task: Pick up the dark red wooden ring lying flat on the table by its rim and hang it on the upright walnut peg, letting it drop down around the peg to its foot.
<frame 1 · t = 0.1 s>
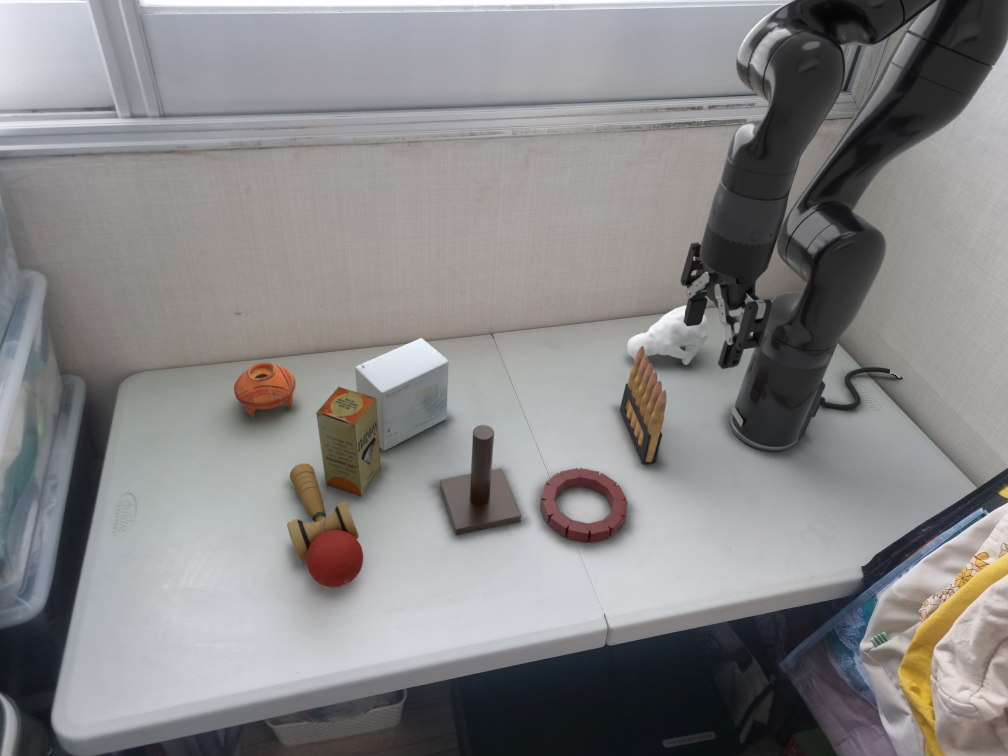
hand: (708, 344, 92), 17 cm above the table, tool pointing down, fingers open, 8 cm apart
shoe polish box: (353, 477, 96), on the table
cosmetics box: (403, 424, 103), on the table
ammunition clip: (636, 436, 104), on the table
pot: (269, 405, 105), on the table
coat peg: (479, 502, 93), on the table
ring: (582, 508, 94), on the table
white lumpy piece: (660, 357, 118), on the table
kendama: (321, 535, 88), on the table
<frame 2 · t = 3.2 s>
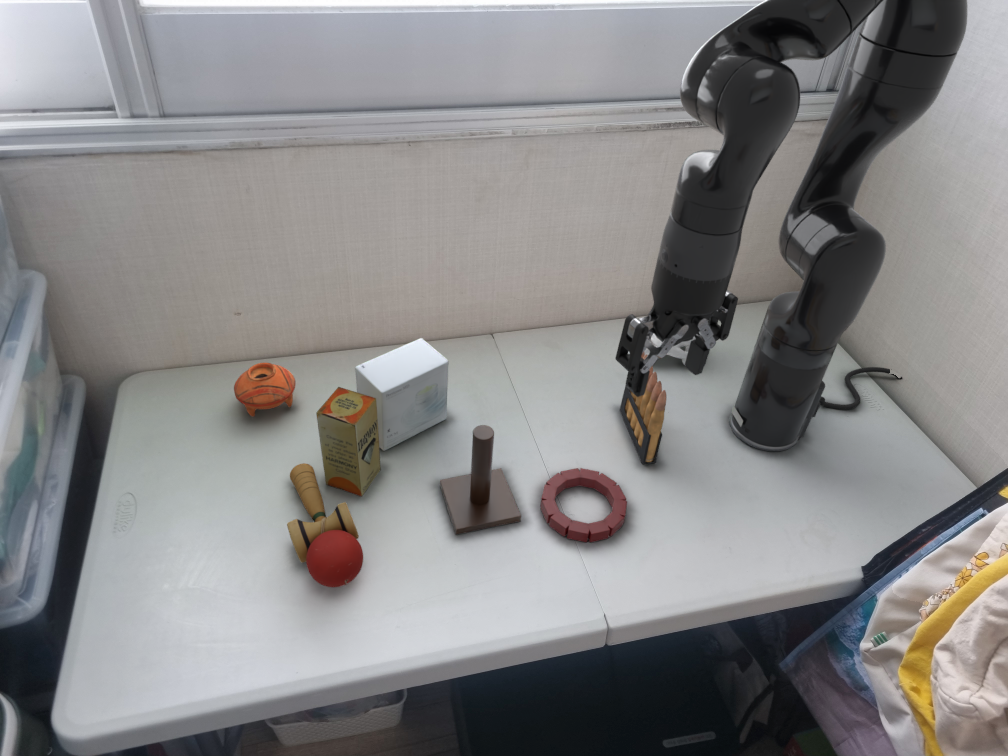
hand: (664, 380, 87), 17 cm above the table, tool pointing down, fingers open, 8 cm apart
nothing on the table moved.
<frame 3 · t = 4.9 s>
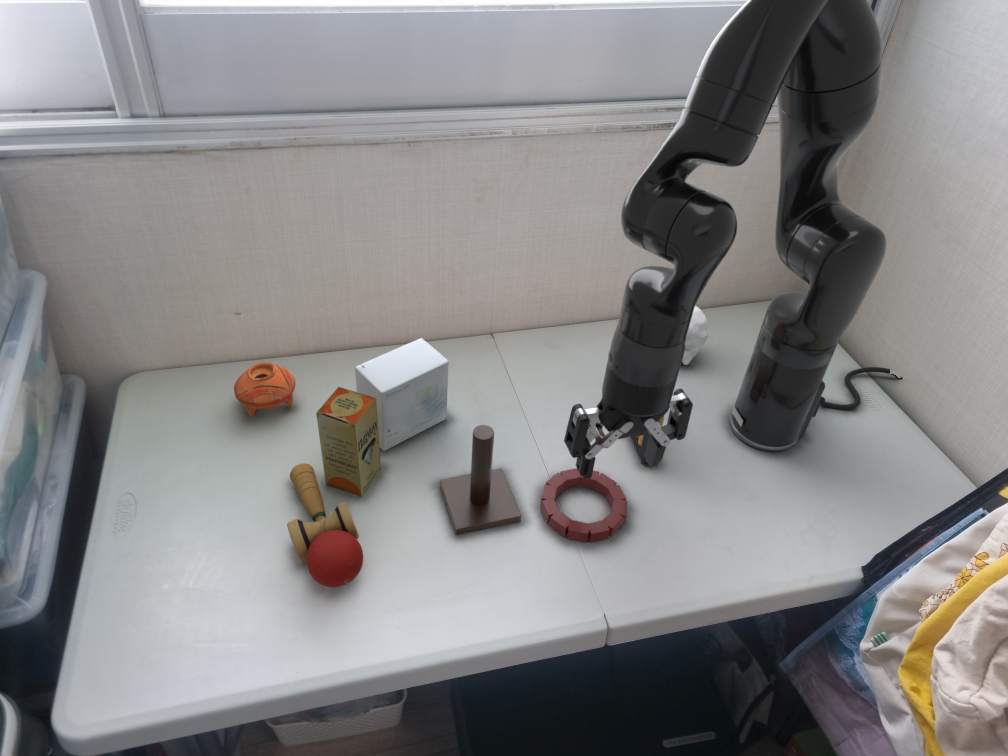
hand: (618, 468, 91), 6 cm above the table, tool pointing down, fingers open, 8 cm apart
nothing on the table moved.
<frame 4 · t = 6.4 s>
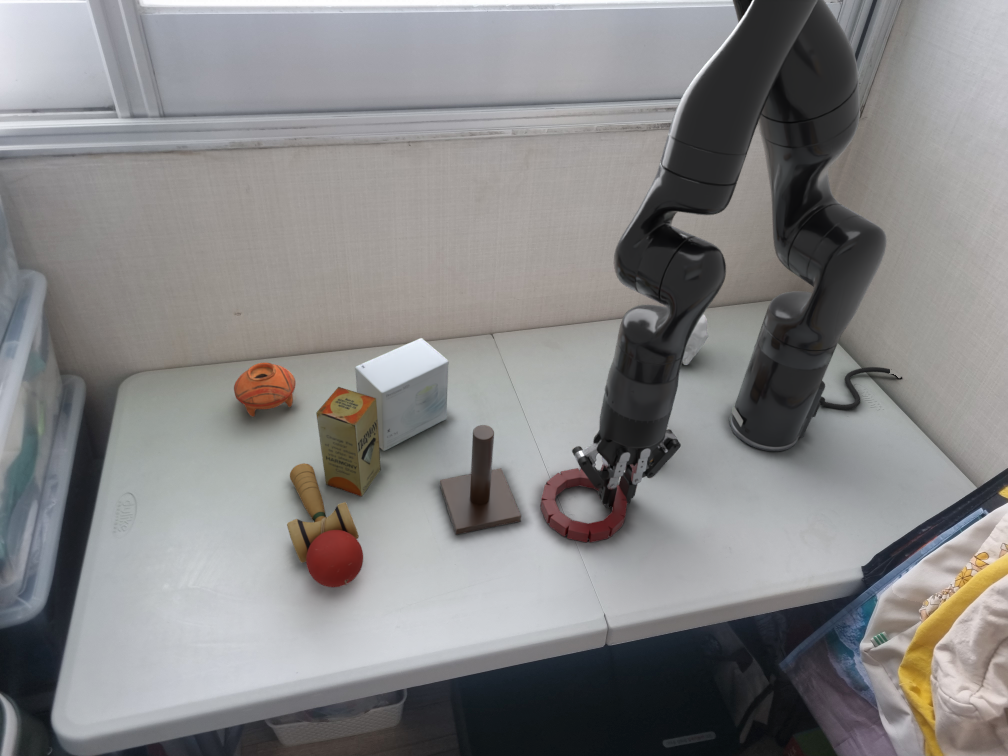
hand: (615, 500, 95), 0 cm above the table, tool pointing down, fingers closed on ring, 1 cm apart
ring: (582, 508, 94), on the table, touching gripper
everything else where it was.
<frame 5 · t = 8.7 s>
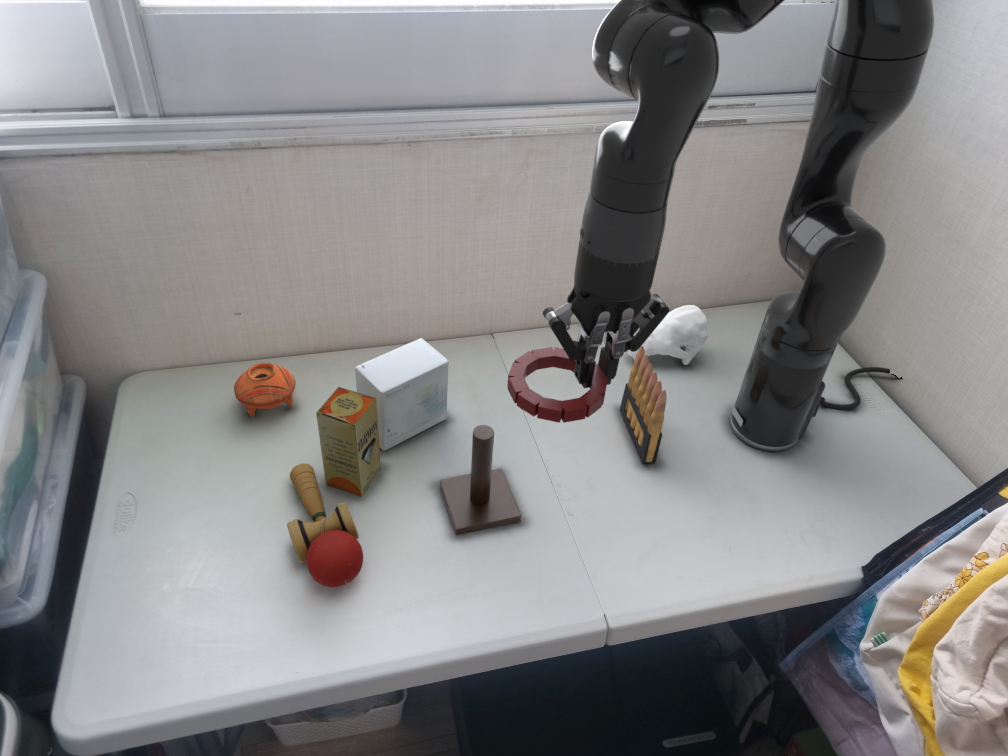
hand: (593, 381, 82), 19 cm above the table, tool pointing down, fingers closed on ring
ring: (556, 389, 81), point 19 cm above the table, touching gripper
everything else where it was.
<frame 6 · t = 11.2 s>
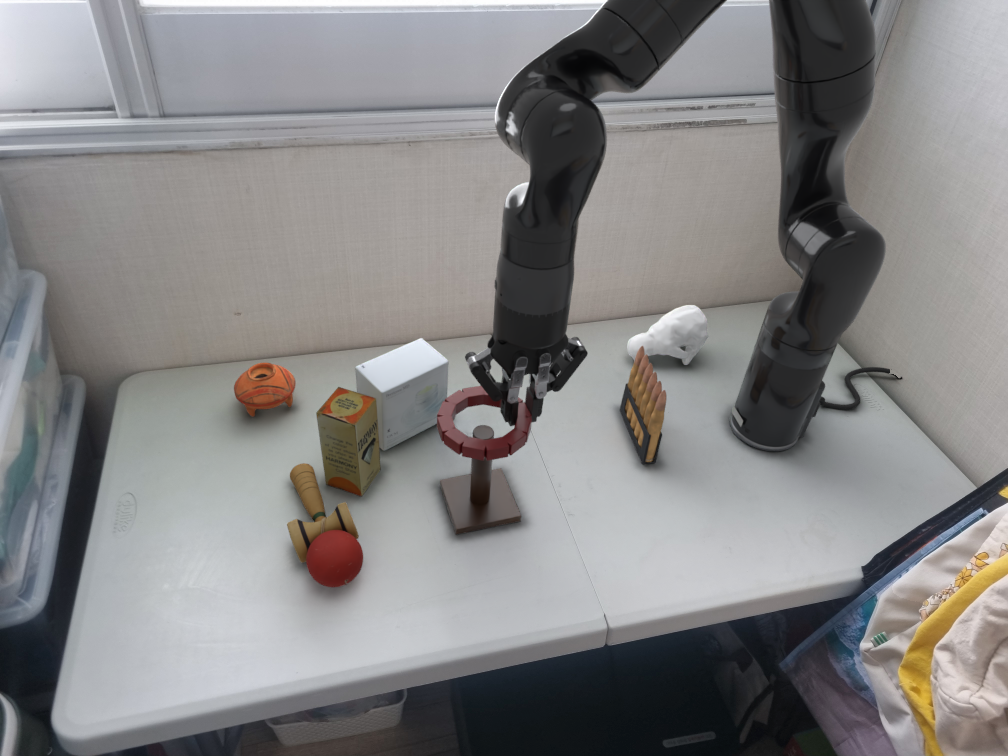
hand: (520, 418, 86), 13 cm above the table, tool pointing down, fingers closed on ring
ring: (484, 426, 85), point 13 cm above the table, touching gripper
everything else where it was.
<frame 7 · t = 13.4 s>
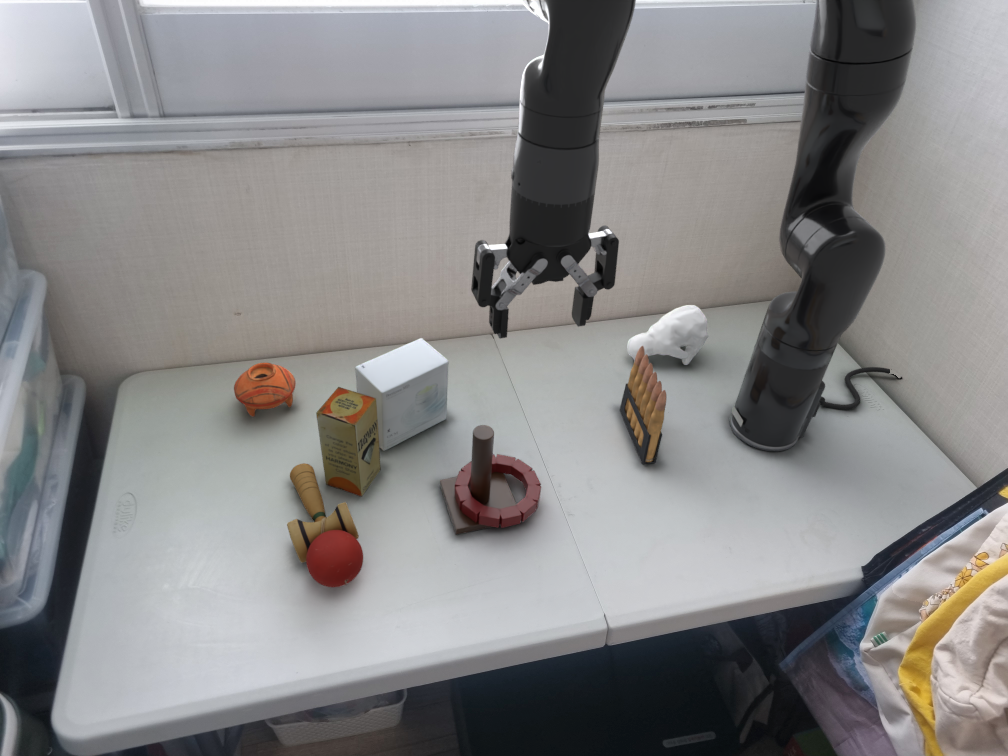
hand: (539, 327, 79), 25 cm above the table, tool pointing down, fingers open, 8 cm apart
ring: (497, 494, 93), point 1 cm above the table, touching coat peg
everything else where it was.
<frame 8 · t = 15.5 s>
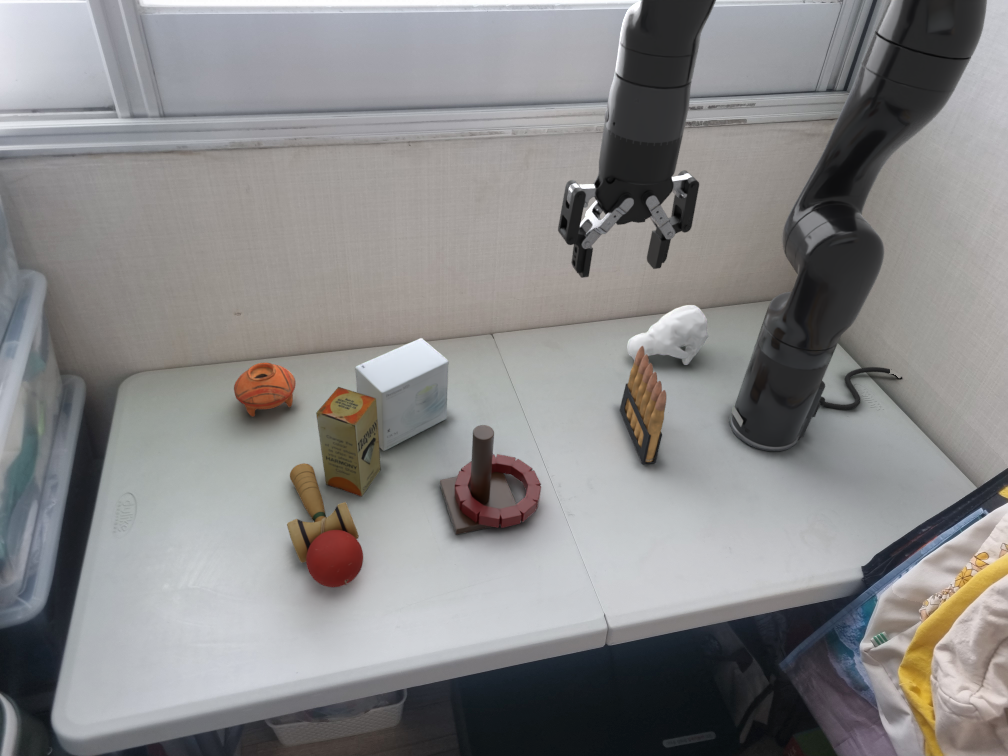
hand: (618, 269, 83), 28 cm above the table, tool pointing down, fingers open, 8 cm apart
nothing on the table moved.
at the end: ring 2.2 cm from the coat peg (horizontally); ring point 1.0 cm above the table; the gripper is holding nothing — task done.
